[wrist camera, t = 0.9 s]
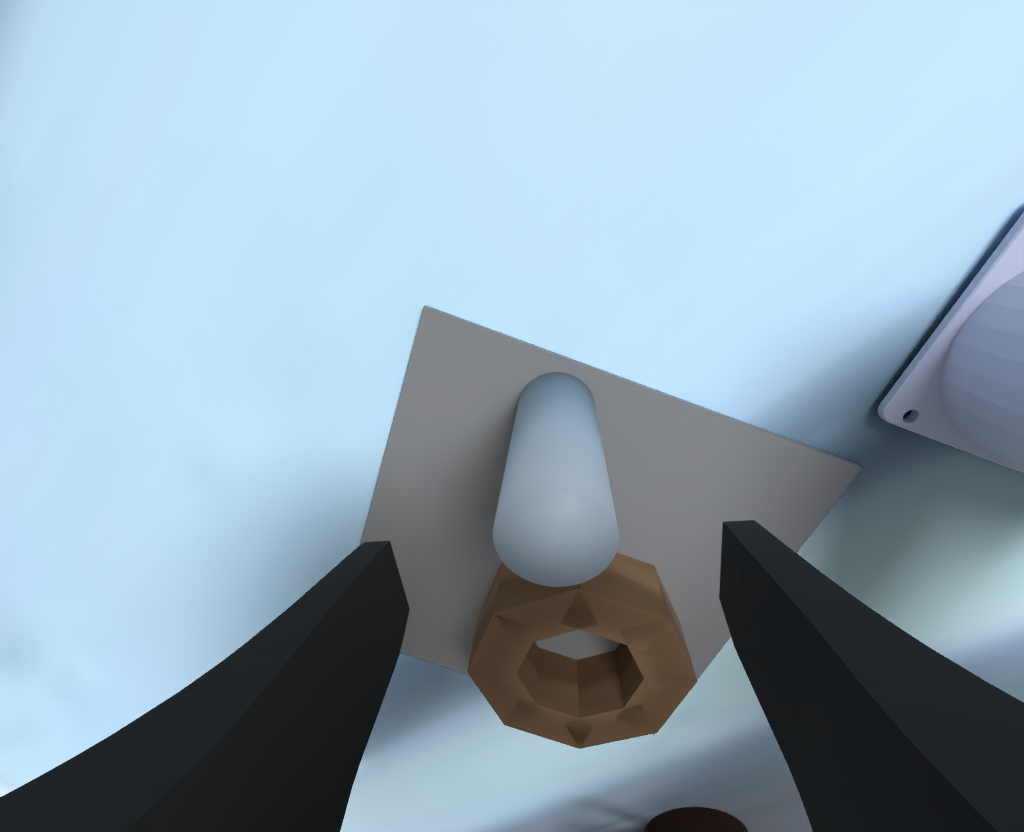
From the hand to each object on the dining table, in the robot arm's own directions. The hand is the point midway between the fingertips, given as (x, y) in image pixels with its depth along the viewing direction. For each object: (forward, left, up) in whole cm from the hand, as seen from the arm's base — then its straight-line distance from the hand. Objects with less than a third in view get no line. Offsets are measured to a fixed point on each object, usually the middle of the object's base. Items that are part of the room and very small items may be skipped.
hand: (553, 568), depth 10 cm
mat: (-3, +7, -9) cm, 12 cm away
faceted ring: (-5, +10, -9) cm, 14 cm away
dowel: (0, 0, -9) cm, 9 cm away
